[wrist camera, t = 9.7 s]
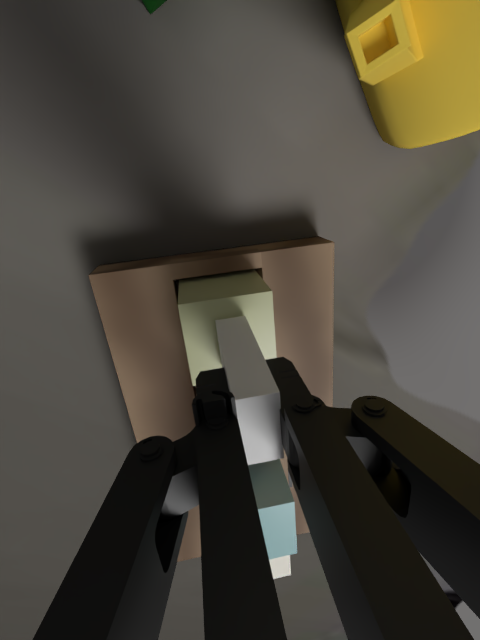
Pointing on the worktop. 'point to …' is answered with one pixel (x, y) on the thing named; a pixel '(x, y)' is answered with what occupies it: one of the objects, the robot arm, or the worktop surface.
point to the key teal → (274, 507)
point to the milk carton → (153, 4)
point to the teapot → (416, 66)
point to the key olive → (223, 314)
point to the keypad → (168, 341)
